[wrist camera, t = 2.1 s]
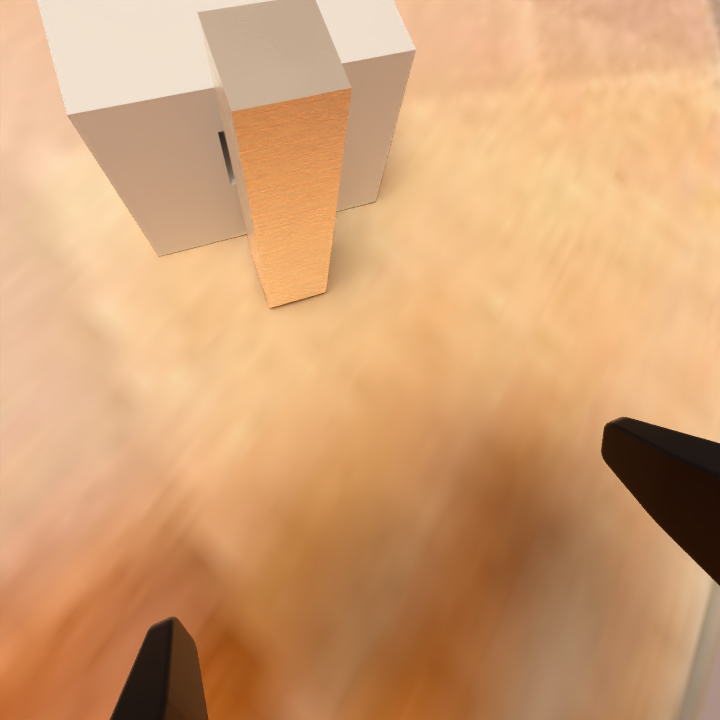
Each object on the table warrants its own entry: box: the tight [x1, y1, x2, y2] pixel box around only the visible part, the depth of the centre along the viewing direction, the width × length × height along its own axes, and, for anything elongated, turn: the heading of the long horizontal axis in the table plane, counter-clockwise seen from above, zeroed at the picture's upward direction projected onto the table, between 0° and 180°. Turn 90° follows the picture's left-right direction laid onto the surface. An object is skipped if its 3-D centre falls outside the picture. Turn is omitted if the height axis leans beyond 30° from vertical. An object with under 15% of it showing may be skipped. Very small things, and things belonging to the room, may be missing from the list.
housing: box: [37, 0, 416, 256], centre depth 21 cm, size 6×12×10 cm, turn 110°
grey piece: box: [197, 0, 352, 308], centre depth 19 cm, size 15×3×13 cm, turn 20°
